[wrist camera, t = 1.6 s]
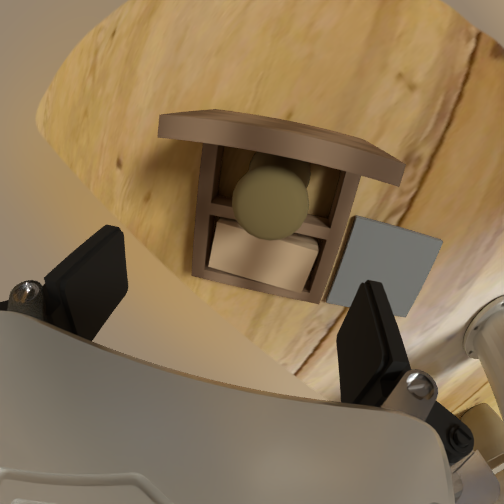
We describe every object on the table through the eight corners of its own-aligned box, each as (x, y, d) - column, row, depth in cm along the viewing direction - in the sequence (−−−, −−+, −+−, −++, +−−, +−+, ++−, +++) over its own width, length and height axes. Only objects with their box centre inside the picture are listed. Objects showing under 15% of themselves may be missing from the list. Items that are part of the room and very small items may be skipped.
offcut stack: (316, 235, 30) (318, 251, 27) (301, 274, 33) (301, 293, 30) (226, 208, 31) (217, 222, 28) (217, 250, 33) (208, 266, 30)
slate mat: (441, 239, 28) (443, 241, 27) (404, 314, 33) (405, 317, 33) (355, 215, 28) (356, 217, 28) (326, 299, 34) (326, 302, 33)
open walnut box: (363, 139, 25) (405, 164, 14) (318, 290, 33) (320, 371, 23) (215, 109, 25) (159, 114, 15) (198, 264, 34) (158, 334, 24)
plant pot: (480, 422, 46) (492, 471, 32) (437, 431, 48) (446, 487, 34) (511, 387, 39) (530, 441, 25) (467, 397, 41) (484, 460, 27)
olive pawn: (322, 180, 27) (334, 224, 18) (273, 212, 30) (258, 269, 20) (286, 130, 26) (278, 144, 16) (236, 165, 28) (201, 200, 18)
